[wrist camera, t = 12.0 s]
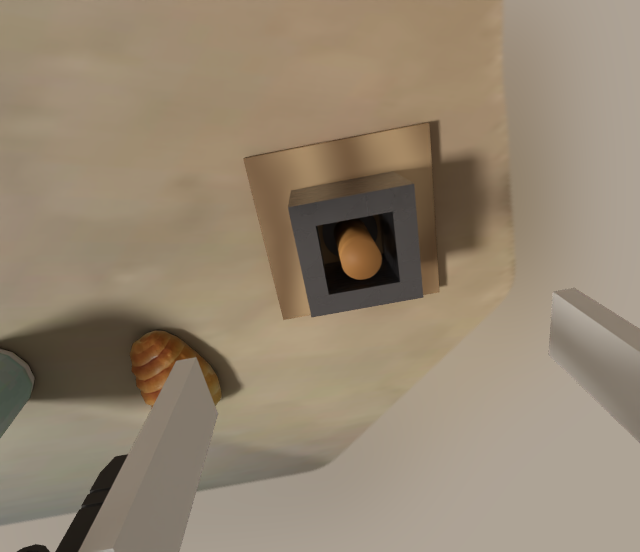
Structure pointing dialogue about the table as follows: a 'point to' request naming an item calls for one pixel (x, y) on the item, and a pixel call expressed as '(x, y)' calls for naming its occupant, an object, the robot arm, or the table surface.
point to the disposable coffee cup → (13, 387)
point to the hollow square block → (396, 233)
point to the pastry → (165, 364)
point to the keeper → (350, 235)
